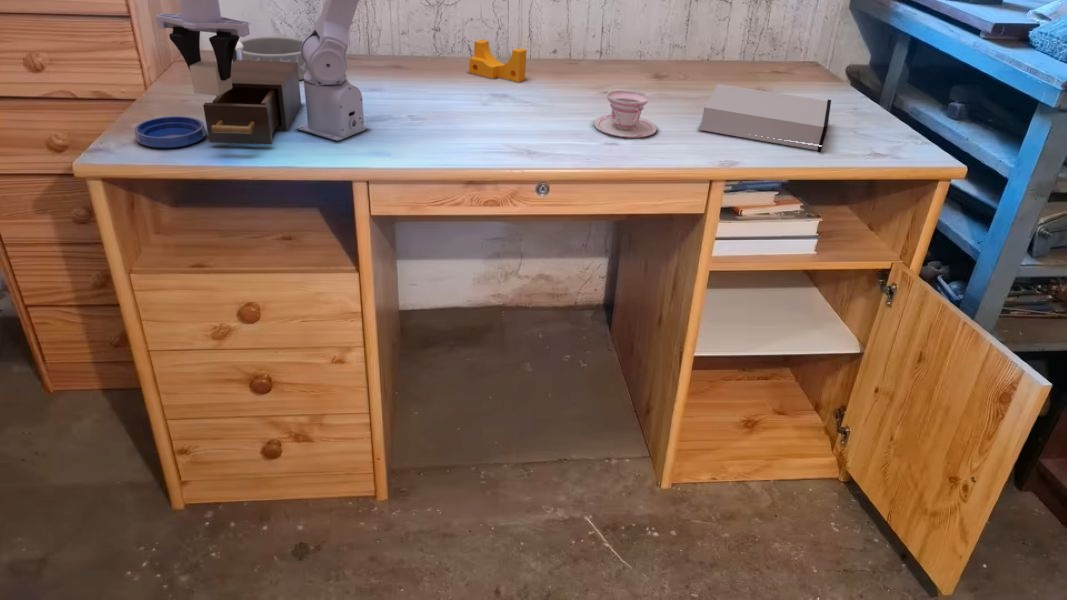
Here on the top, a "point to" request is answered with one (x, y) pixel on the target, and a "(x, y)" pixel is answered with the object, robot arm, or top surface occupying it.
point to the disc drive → (766, 116)
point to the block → (208, 78)
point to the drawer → (243, 116)
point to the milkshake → (238, 52)
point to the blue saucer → (170, 132)
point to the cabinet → (271, 84)
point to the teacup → (626, 115)
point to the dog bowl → (275, 51)
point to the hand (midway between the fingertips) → (211, 77)
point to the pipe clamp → (497, 63)
